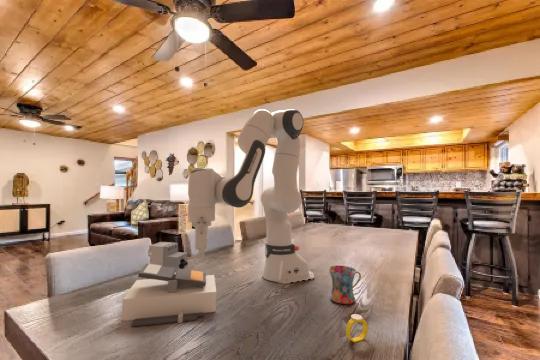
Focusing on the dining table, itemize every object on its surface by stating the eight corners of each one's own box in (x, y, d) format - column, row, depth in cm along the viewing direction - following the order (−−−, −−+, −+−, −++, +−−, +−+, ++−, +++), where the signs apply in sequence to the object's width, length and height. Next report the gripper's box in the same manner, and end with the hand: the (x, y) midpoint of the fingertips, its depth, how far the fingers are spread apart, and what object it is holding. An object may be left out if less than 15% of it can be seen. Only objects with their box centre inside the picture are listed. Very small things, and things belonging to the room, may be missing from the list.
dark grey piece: (204, 314, 77) (204, 308, 77) (204, 320, 74) (204, 313, 74) (133, 322, 72) (133, 315, 72) (130, 328, 69) (130, 321, 69)
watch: (351, 347, 63) (350, 322, 63) (344, 340, 65) (343, 317, 65) (370, 339, 65) (369, 316, 65) (362, 334, 68) (361, 311, 68)
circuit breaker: (180, 287, 98) (181, 247, 98) (147, 284, 100) (148, 245, 101) (190, 280, 105) (191, 243, 105) (159, 277, 108) (160, 241, 108)
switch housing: (213, 291, 94) (214, 265, 95) (215, 311, 79) (216, 279, 79) (136, 297, 88) (137, 269, 88) (121, 321, 72) (123, 286, 73)
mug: (337, 308, 83) (337, 274, 83) (323, 296, 92) (323, 266, 92) (369, 303, 86) (369, 271, 87) (352, 293, 95) (352, 264, 95)
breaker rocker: (204, 276, 91) (205, 271, 91) (204, 287, 81) (206, 282, 81) (145, 267, 86) (146, 262, 86) (137, 277, 76) (139, 272, 76)
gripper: (212, 218, 77) (212, 265, 77) (210, 212, 97) (210, 249, 97) (190, 219, 76) (190, 267, 75) (193, 213, 96) (193, 250, 95)
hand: (201, 256), depth 86 cm, fingers closed
